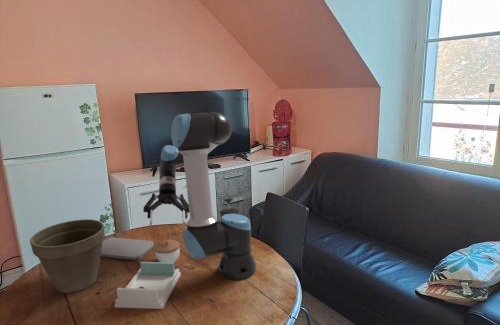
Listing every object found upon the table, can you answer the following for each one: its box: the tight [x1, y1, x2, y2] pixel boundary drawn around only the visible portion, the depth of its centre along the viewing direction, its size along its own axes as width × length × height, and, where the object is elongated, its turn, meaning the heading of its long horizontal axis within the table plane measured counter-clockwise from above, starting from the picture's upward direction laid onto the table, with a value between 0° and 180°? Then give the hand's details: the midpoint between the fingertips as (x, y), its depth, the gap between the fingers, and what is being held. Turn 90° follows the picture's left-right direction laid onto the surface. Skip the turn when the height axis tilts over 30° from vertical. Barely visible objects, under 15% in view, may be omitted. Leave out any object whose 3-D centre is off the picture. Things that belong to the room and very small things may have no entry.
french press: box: [217, 198, 240, 222], centre depth 159 cm, size 12×9×23 cm
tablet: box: [100, 237, 155, 261], centre depth 159 cm, size 16×26×2 cm, turn 76°
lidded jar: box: [153, 239, 181, 263], centre depth 146 cm, size 11×11×9 cm
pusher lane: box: [114, 268, 182, 310], centre depth 126 cm, size 22×17×7 cm
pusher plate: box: [139, 261, 175, 275], centre depth 134 cm, size 1×13×5 cm, turn 85°
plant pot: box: [29, 218, 106, 294], centre depth 131 cm, size 25×25×22 cm
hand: (167, 223), depth 142 cm, fingers open, 13 cm apart
